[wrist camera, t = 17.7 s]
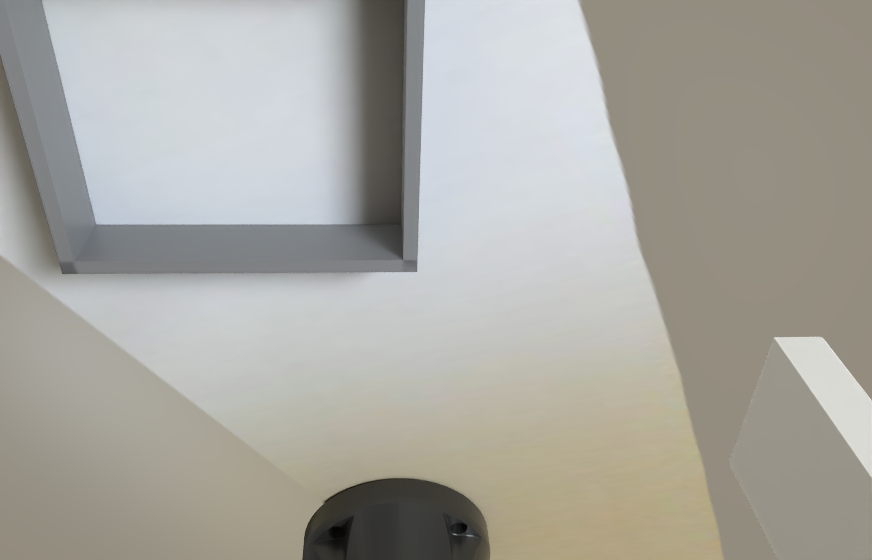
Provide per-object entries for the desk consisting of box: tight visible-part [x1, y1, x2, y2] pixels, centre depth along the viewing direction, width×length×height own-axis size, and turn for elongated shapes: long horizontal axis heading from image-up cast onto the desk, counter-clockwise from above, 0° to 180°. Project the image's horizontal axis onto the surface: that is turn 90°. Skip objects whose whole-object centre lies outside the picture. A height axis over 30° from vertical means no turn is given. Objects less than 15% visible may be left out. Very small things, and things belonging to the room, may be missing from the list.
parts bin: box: [0, 0, 425, 274], centre depth 40 cm, size 18×20×4 cm
